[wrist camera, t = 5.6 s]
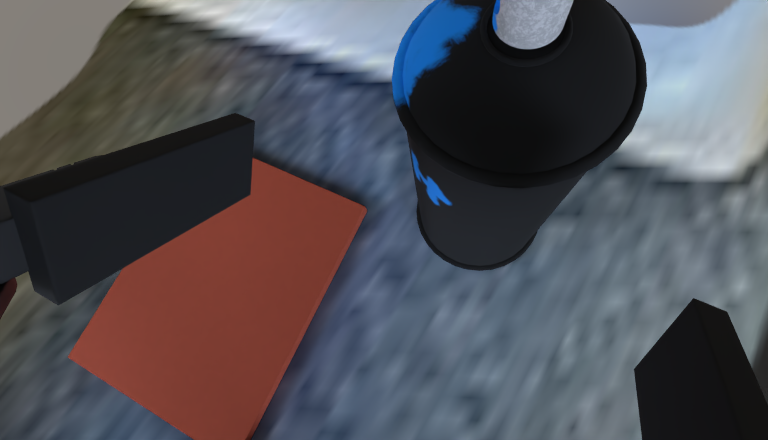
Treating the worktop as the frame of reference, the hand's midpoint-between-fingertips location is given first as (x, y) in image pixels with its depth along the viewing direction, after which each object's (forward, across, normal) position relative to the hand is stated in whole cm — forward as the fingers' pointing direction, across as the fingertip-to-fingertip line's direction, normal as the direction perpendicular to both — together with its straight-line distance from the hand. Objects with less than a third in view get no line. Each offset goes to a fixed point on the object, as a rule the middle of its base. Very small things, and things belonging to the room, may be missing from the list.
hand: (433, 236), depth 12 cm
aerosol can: (+16, 0, +7) cm, 18 cm away
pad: (+8, +14, +15) cm, 22 cm away
